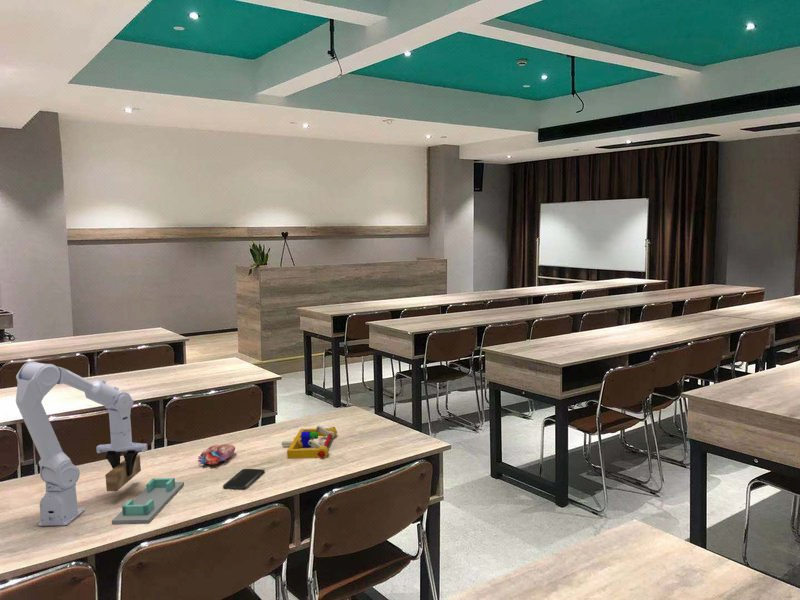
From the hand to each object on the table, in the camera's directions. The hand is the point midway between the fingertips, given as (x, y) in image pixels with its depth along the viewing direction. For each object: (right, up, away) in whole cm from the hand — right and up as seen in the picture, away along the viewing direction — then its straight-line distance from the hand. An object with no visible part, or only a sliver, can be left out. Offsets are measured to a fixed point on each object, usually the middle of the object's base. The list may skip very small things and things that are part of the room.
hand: (124, 474), depth 188 cm
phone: (+34, -4, +8) cm, 35 cm away
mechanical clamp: (+50, -1, +40) cm, 64 cm away
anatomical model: (+20, -3, +26) cm, 33 cm away
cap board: (+11, -6, -8) cm, 15 cm away
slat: (0, -2, 0) cm, 2 cm away
